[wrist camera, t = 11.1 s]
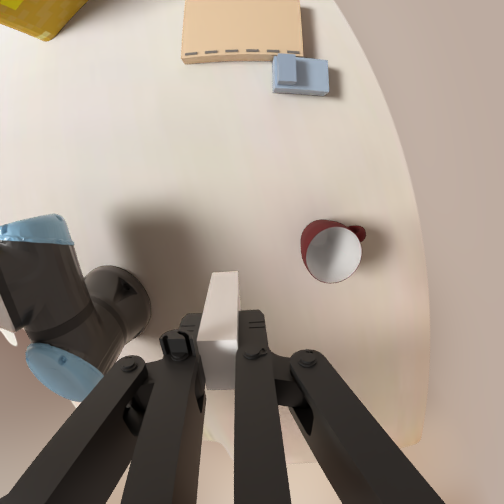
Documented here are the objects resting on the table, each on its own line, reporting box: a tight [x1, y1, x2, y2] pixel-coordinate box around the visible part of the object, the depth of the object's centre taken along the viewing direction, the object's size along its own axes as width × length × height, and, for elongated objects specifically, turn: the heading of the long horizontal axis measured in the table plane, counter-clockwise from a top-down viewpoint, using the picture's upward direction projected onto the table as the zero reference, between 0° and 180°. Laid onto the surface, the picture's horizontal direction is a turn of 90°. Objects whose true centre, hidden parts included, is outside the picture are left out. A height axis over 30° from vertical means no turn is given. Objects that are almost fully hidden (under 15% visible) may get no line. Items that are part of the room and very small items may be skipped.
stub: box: [272, 53, 329, 96], centre depth 34 cm, size 8×5×5 cm
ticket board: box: [181, 0, 303, 64], centre depth 32 cm, size 18×12×3 cm, turn 90°
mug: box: [301, 220, 366, 283], centre depth 40 cm, size 10×8×10 cm
